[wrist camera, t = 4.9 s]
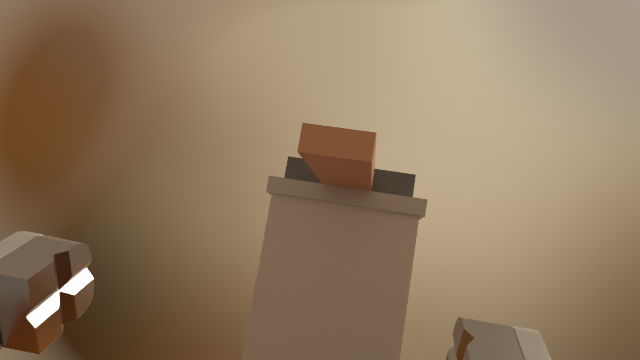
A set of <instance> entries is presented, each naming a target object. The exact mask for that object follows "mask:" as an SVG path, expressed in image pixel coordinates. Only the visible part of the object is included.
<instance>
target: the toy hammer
mask: <svg viewBox="0 0 640 360" xmlns="http://www.w3.org/2000/svg"><path fill="white" fill-rule="evenodd" d="M375 147H376V133H374V132H367V131H359V130H351V129H344V128H337V127H329V126H321V125H314V124H307V123H303V124H302V129H301V135H300V141H299V147H298V153H299V154H300V156H301V157H302V158H303V159H302V158H295V157H288V161H287V166H286V172H285V178H287V179H294V180H301V181H307V182H314V183H320V184H327V185H334V186H340V187H347V188H354V189H360V190H367V191H374V192H380V193H387V194H394V195H400V196H407V197H413V189H414V183H415V175H414V174H407V173H400V172H393V171H386V170H379V169H374V165H375Z"/></svg>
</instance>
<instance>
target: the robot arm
mask: <svg viewBox="0 0 640 360" xmlns="http://www.w3.org/2000/svg"><path fill="white" fill-rule="evenodd" d="M91 261H92V260H91V253H90V248H89V247H88V246H86V245H85V244H83V243H79V242H75V241H70V240H65V239H61V238H56V237H52V236H47V235H42V234H37V233H32V232H25V231H23V232H16V233H14V234H13V235H11V236H9V237H7V238H6V239H4V240H2V241H0V349H1V347H5V348H10V349H15V350H20V351H25V352H30V353H35V354H40V353H41V352H42V351H43V350H45V349H46V348H47V347H48V346H49V345H50V344H51V343H52V342H53V341H54V340H55V339H56V338H57V337H59V336H60V335H61V334H62V333H63V332H62V331H63V324H66V323H68V322H71V321H73V320H76V319H78V317H80V316H81V315H82V314H83V313H84V312H85V311H86V309H87V307H88V305H89V303H90V302H91V300H92V297H93V291H94V279H93V277H92V275H90V273H89V272H88V270H87V269H86V268H87V267H88V265H89V264H90V263H91ZM453 337H454V345H455V346H454V347H452V348H451V349H450V350H449V351H448V354H447V358H446V360H552V359H551V357H550V355H549V352H548V350H547V348H546V345H545V343H544V341H543V339H542V336H541V334H540V333H539V332H538V331H537V330H534V329H527V328H522V327H515V326H506V325H500V324H495V323H489V322H484V321H478V320H473V319H467V318H462V317H459V318H458V319H457V321H456V324H455V327H454V331H453Z"/></svg>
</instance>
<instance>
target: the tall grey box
mask: <svg viewBox="0 0 640 360" xmlns="http://www.w3.org/2000/svg"><path fill="white" fill-rule="evenodd" d="M266 192H268V193H269V194H271V195H272V196H271V201H270V207H269V213H268V218H267V224H266V229H265V234H264V240H263V246H262V251H261V256H260V262H259V268H258V274H257V279H256V285H255V290H254V296H253V301H252V307H251V312H250V317H249V323H248V328H247V334H246V339H245V345H244V351H243V356H242V360H400V353H401V346H402V338H403V331H404V324H405V316H406V308H407V302H408V294H409V287H410V280H411V273H412V265H413V258H414V251H415V243H416V236H417V228H418V221H419V219H421V218H423V217H425V213H426V205H427V199H420V198H413V197H407V196H400V195H394V194H387V193H380V192H374V191H367V190H360V189H354V188H347V187H340V186H334V185H327V184H320V183H314V182H307V181H301V180H294V179H287V178H281V177H273V176H269V179H268V184H267V190H266Z"/></svg>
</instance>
